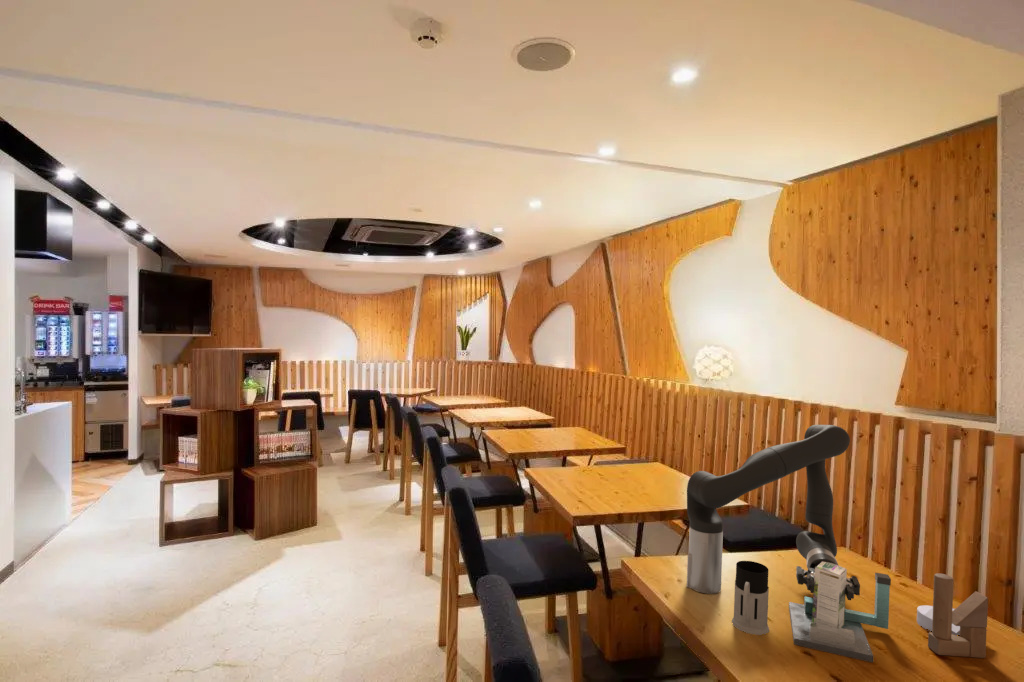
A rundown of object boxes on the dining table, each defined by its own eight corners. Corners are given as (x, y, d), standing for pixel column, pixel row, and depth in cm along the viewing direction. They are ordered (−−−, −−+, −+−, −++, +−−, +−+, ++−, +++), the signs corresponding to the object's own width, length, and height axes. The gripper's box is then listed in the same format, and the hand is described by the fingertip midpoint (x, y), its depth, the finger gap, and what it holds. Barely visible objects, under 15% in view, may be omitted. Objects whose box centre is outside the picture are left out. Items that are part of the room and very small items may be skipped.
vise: (794, 644, 129) (794, 625, 129) (788, 607, 148) (789, 590, 148) (873, 662, 123) (873, 642, 123) (857, 621, 141) (858, 604, 141)
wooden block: (986, 658, 126) (989, 581, 126) (938, 655, 127) (940, 579, 126) (973, 649, 130) (976, 574, 129) (927, 646, 130) (929, 572, 130)
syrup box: (818, 616, 138) (820, 559, 138) (845, 625, 134) (847, 567, 133) (811, 624, 134) (813, 566, 134) (838, 634, 130) (840, 574, 129)
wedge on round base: (987, 644, 132) (937, 617, 145) (988, 617, 132) (938, 592, 145) (955, 646, 131) (907, 618, 143) (956, 619, 131) (908, 593, 143)
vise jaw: (805, 612, 142) (806, 564, 142) (804, 607, 145) (805, 560, 145) (889, 630, 134) (891, 579, 134) (886, 623, 137) (888, 574, 137)
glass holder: (771, 623, 139) (773, 565, 139) (763, 649, 127) (765, 585, 127) (735, 613, 144) (737, 556, 144) (724, 637, 132) (726, 575, 132)
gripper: (793, 547, 149) (798, 571, 134) (854, 557, 144) (866, 583, 129) (792, 574, 150) (797, 601, 135) (853, 585, 144) (865, 615, 129)
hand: (831, 592), depth 132 cm, fingers closed on syrup box, 7 cm apart
